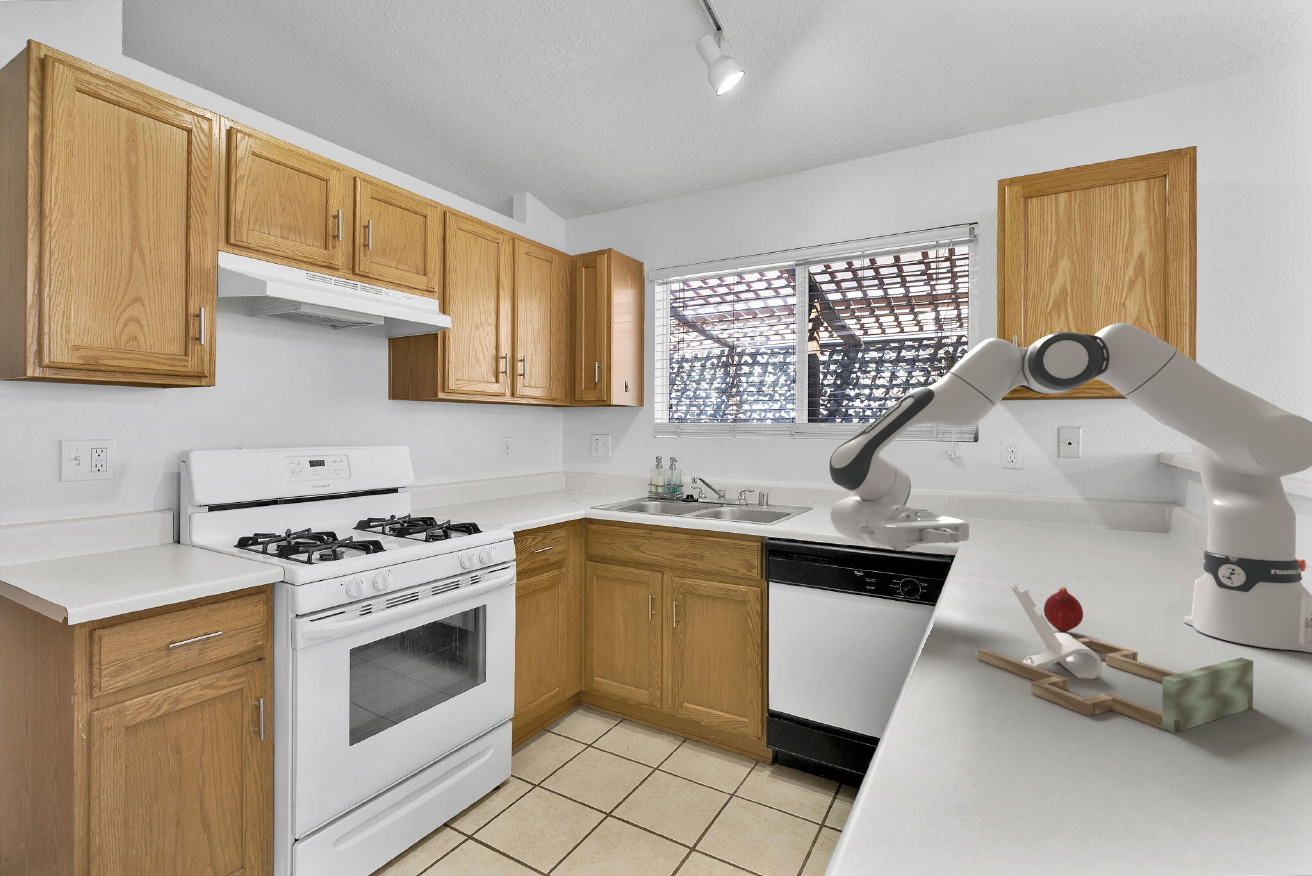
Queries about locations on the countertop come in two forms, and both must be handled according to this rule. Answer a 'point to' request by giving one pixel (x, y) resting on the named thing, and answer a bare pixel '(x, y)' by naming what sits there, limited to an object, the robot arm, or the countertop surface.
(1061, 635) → the plastic part
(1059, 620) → the onion
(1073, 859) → the countertop surface
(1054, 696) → the trap lane
